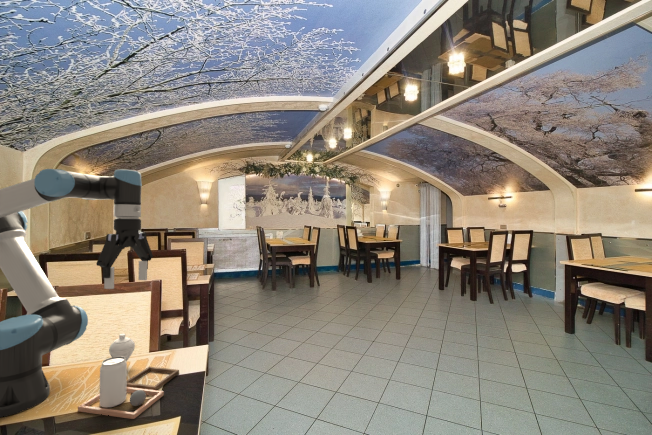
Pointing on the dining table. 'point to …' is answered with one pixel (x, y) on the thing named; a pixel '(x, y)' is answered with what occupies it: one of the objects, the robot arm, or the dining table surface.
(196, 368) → the dining table surface
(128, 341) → the spinning top
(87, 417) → the dining table surface
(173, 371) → the brown square frame
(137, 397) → the ball
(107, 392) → the can
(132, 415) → the open picture frame
